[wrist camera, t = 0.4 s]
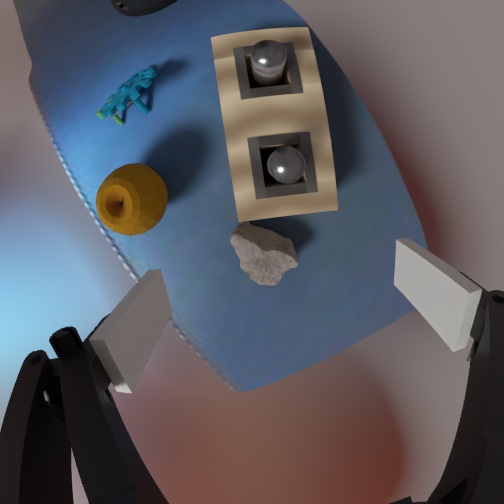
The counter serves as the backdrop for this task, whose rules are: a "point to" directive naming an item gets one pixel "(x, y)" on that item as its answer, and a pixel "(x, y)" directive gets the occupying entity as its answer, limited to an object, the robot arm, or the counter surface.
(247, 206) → the socket block
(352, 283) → the counter surface
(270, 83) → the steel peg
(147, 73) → the teal knobby branched piece
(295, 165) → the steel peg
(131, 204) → the apple
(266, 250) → the stone
